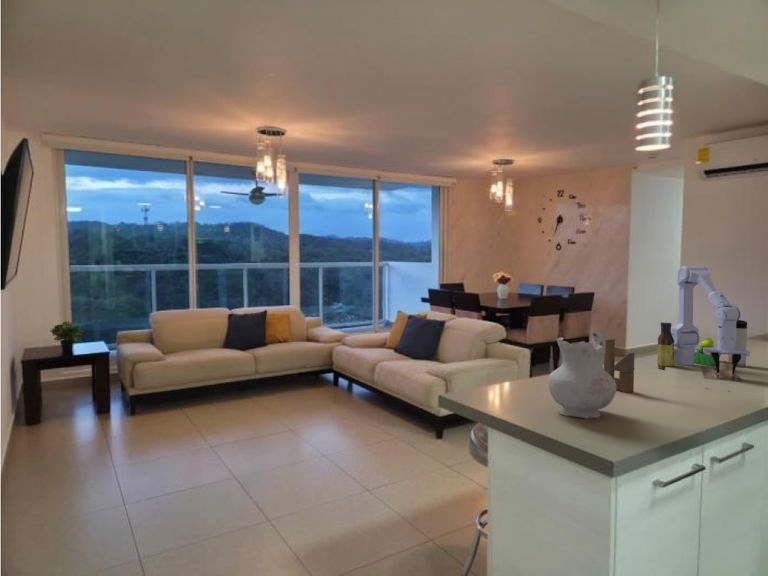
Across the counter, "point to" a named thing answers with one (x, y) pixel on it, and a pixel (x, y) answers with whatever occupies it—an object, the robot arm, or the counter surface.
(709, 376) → the walnut board
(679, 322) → the robot arm
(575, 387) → the ceramic pitcher
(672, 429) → the counter surface
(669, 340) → the sauce bottle
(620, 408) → the counter surface
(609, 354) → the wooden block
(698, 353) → the fruit basket
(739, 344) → the travel mug
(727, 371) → the maple block
